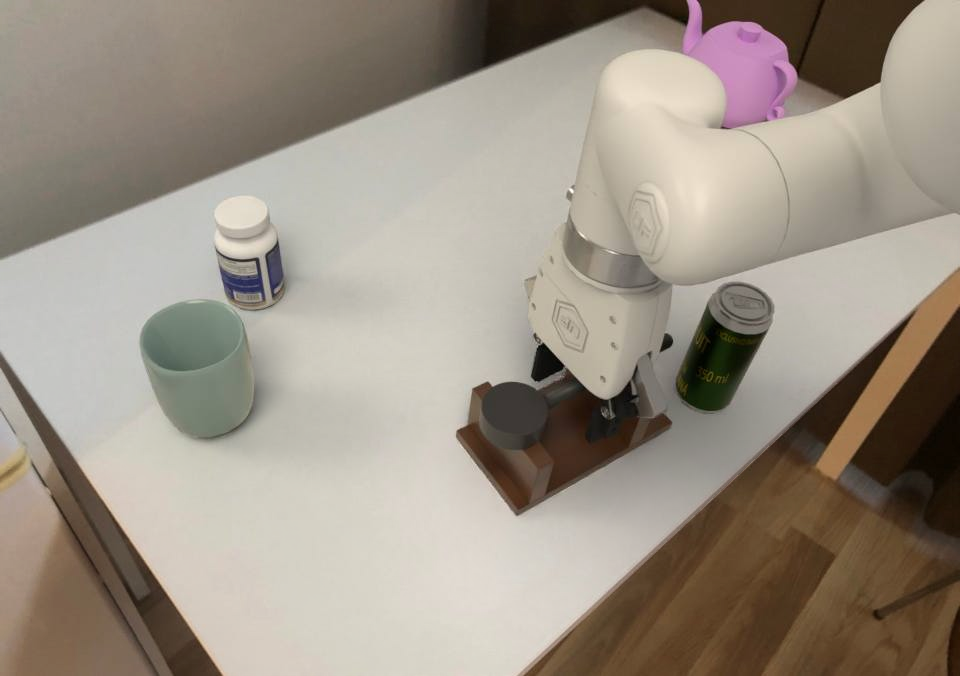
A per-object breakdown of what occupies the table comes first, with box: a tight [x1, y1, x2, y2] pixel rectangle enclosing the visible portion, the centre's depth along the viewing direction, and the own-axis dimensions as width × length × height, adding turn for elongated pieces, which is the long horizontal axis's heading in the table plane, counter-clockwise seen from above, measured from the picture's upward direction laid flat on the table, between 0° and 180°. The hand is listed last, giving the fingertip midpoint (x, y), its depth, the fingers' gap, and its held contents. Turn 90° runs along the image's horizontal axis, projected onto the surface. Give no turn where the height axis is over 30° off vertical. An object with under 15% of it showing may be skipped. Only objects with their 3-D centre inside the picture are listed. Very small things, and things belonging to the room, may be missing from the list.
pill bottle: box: [213, 195, 286, 311], centre depth 74 cm, size 6×6×10 cm
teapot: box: [681, 0, 798, 129], centre depth 106 cm, size 20×13×12 cm, turn 39°
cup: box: [138, 298, 255, 439], centre depth 64 cm, size 8×8×10 cm
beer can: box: [674, 281, 775, 414], centre depth 70 cm, size 5×5×12 cm
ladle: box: [479, 332, 674, 450], centre depth 65 cm, size 5×20×2 cm, turn 124°
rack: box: [455, 367, 673, 517], centre depth 67 cm, size 9×17×6 cm, turn 124°
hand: (573, 402), depth 66 cm, fingers open, 6 cm apart
